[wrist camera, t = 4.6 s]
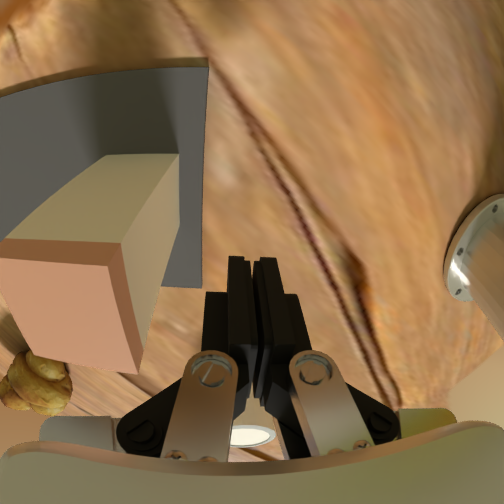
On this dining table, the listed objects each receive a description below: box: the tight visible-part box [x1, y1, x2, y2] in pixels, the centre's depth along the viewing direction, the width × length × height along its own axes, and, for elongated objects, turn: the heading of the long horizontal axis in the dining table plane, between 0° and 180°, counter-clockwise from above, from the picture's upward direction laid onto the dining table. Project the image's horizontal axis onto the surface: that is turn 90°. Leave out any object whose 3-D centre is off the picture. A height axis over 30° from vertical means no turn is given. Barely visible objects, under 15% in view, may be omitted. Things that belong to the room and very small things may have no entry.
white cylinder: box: [230, 385, 276, 447], centre depth 29 cm, size 7×7×7 cm
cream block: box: [0, 154, 180, 374], centre depth 13 cm, size 5×5×12 cm
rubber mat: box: [0, 67, 209, 289], centre depth 18 cm, size 22×16×1 cm
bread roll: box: [0, 349, 73, 416], centre depth 27 cm, size 13×10×8 cm
